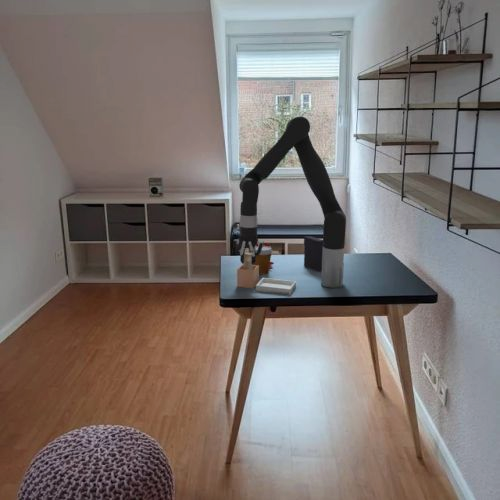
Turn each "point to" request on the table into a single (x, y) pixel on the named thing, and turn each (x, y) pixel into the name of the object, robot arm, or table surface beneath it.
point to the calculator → (313, 253)
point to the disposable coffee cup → (263, 259)
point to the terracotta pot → (247, 277)
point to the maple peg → (248, 261)
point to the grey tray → (276, 286)
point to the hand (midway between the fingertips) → (248, 263)
